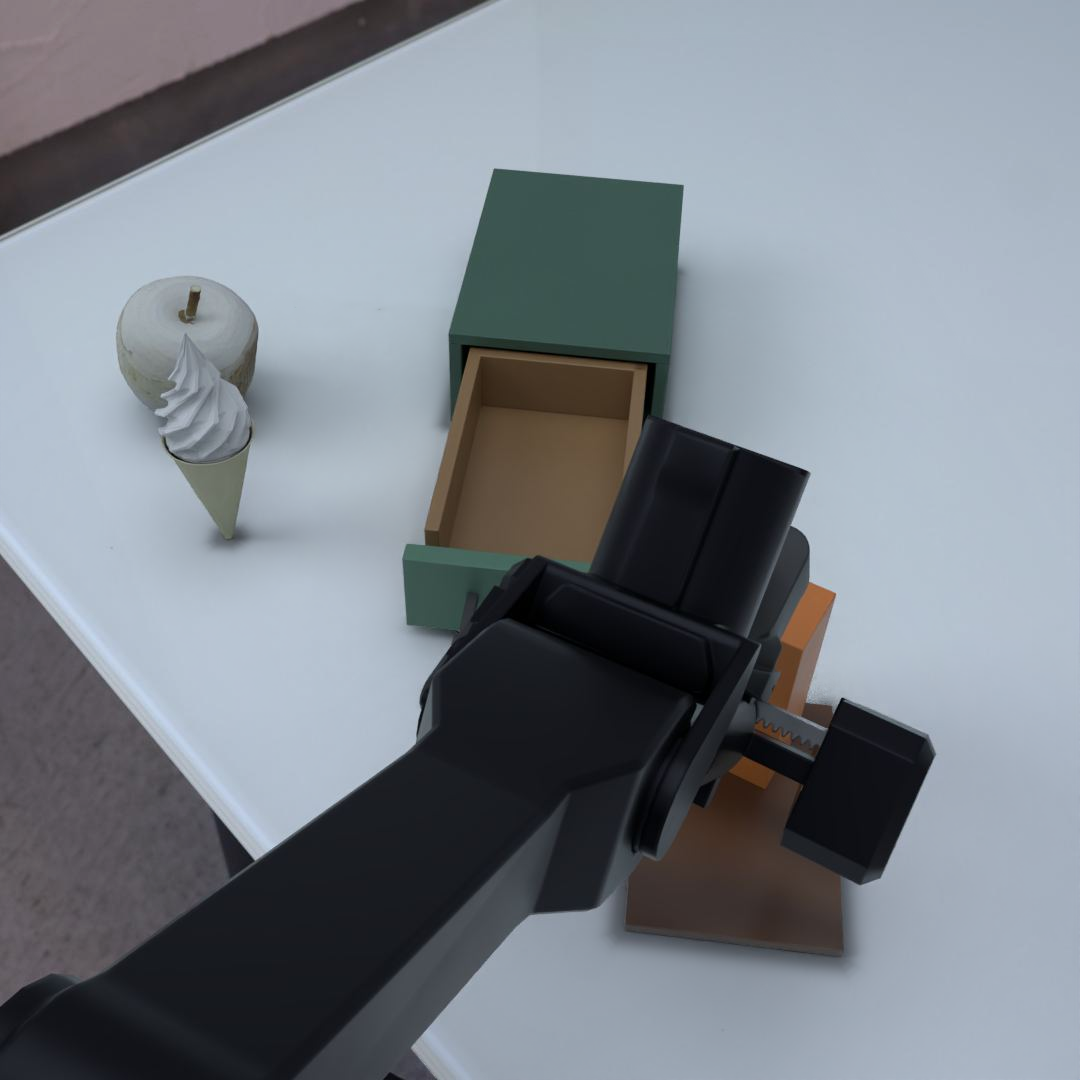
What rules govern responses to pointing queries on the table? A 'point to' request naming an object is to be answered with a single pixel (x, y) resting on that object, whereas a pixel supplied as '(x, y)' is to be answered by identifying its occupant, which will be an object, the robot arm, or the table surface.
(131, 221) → the table surface
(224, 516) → the ice cream cone
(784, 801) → the board
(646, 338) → the cabinet
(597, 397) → the drawer
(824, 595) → the orange rectangular prism
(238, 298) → the decorative object
